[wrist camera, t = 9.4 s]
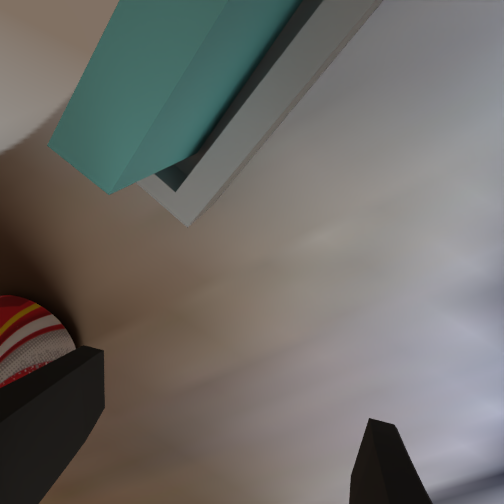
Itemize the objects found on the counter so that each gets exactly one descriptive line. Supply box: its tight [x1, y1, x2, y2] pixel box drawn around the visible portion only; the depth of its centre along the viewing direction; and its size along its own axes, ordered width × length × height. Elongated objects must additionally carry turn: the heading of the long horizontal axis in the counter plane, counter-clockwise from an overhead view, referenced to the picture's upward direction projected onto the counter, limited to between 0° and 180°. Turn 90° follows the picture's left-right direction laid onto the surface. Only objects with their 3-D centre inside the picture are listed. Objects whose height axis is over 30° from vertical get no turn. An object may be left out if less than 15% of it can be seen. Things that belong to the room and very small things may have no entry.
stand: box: [136, 0, 383, 228], centre depth 15 cm, size 6×12×3 cm, turn 140°
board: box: [47, 0, 303, 195], centre depth 12 cm, size 2×9×7 cm, turn 143°
